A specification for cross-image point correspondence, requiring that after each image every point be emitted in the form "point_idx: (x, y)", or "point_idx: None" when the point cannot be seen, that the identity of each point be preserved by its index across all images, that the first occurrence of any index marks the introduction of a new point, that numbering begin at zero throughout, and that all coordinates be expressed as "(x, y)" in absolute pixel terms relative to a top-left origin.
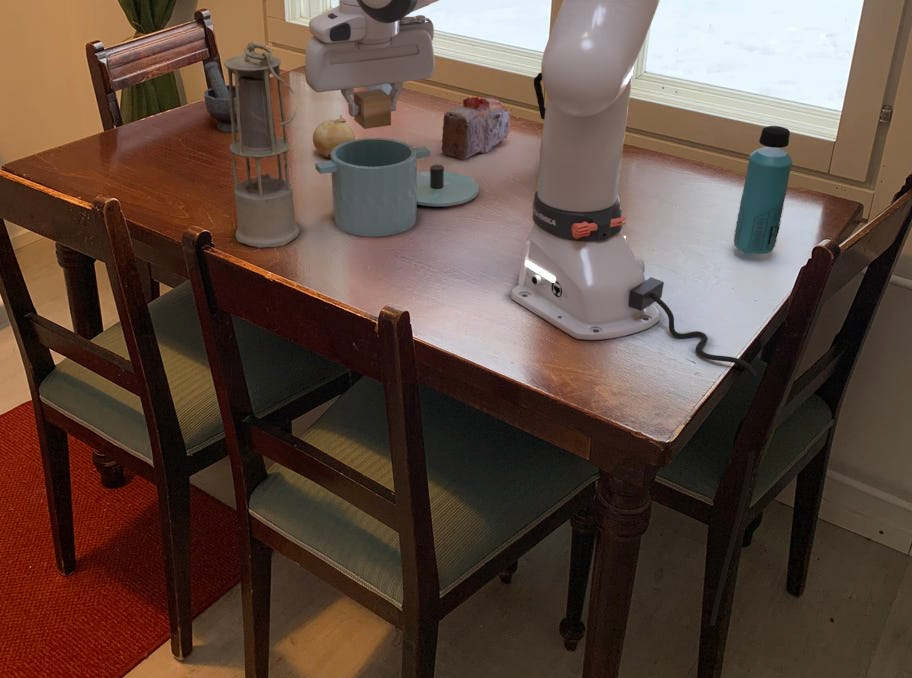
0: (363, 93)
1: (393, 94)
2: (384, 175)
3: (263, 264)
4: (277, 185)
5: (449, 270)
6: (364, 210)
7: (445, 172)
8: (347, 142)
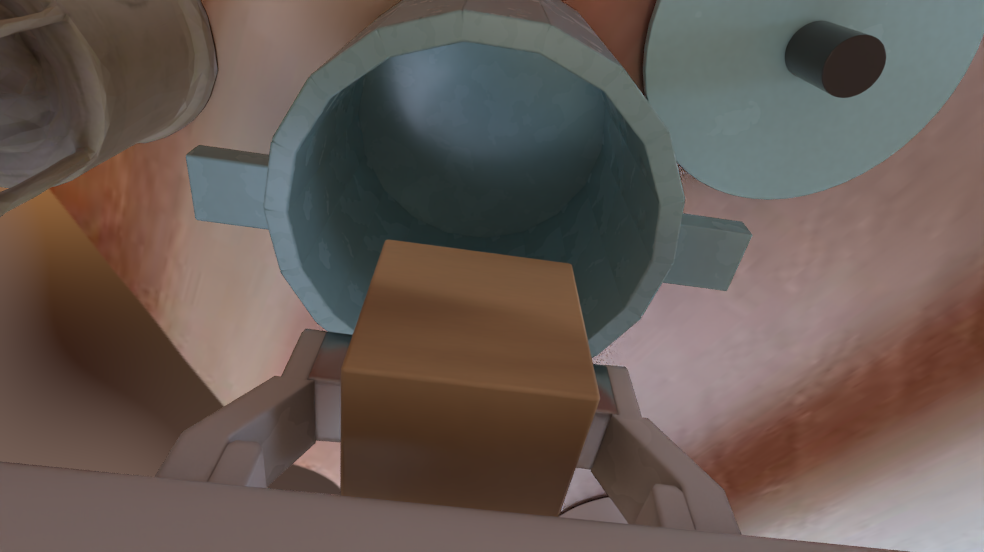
0: (406, 431)
1: (621, 487)
2: None
3: (75, 216)
4: (37, 85)
5: None
6: None
7: None
8: (420, 37)
